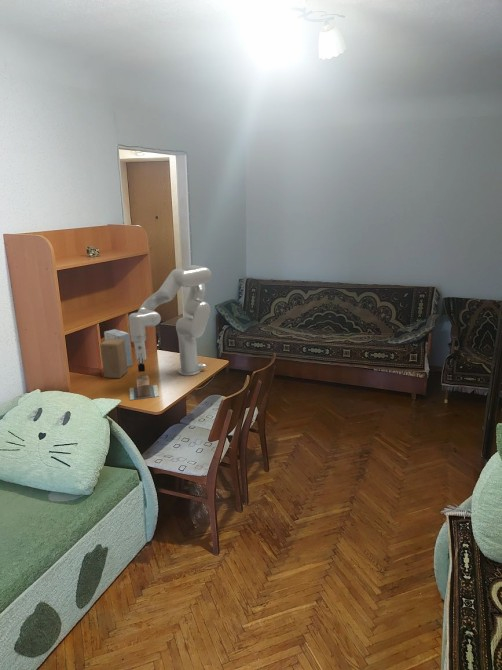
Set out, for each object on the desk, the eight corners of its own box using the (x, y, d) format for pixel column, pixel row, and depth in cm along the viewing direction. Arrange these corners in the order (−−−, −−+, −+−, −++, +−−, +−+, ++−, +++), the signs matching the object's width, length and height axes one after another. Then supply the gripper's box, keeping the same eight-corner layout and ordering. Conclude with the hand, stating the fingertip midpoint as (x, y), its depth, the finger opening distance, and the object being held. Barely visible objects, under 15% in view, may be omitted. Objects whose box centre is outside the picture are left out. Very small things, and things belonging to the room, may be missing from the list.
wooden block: (120, 378, 250) (116, 344, 244) (103, 377, 252) (99, 343, 246) (128, 372, 259) (124, 338, 253) (112, 371, 261) (108, 337, 255)
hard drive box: (133, 365, 269) (129, 333, 263) (122, 369, 263) (118, 336, 257) (118, 359, 279) (114, 328, 272) (107, 363, 273) (103, 331, 267)
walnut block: (148, 374, 239) (149, 384, 226) (149, 385, 240) (150, 395, 227) (136, 375, 237) (137, 386, 224) (137, 386, 239) (138, 397, 226)
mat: (157, 385, 240) (157, 384, 240) (159, 396, 228) (158, 395, 227) (129, 388, 237) (129, 388, 237) (130, 400, 224) (130, 399, 224)
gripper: (146, 341, 224) (150, 375, 230) (145, 332, 238) (148, 365, 244) (131, 342, 223) (134, 377, 228) (130, 333, 236) (134, 366, 242)
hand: (141, 371), depth 236 cm, fingers closed
